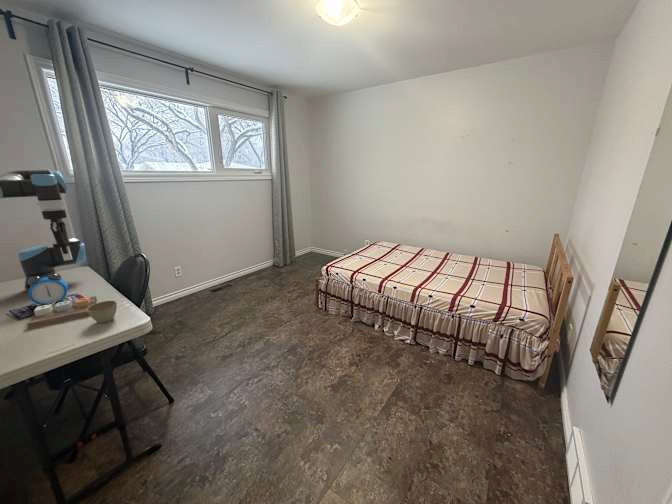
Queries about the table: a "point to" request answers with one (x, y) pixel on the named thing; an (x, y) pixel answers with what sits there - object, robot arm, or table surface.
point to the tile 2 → (82, 302)
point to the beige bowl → (103, 311)
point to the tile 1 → (43, 310)
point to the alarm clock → (47, 289)
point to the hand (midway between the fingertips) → (68, 259)
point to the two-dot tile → (63, 306)
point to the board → (60, 315)
